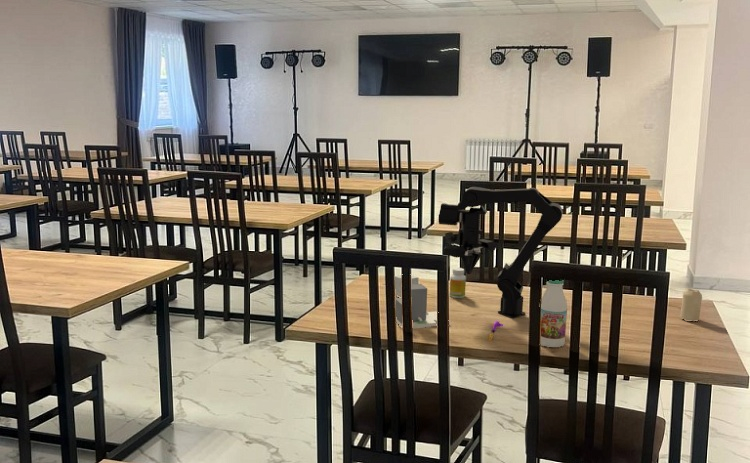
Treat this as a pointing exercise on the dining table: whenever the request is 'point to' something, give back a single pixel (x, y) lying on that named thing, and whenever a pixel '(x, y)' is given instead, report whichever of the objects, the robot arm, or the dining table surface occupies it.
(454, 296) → the supplement bottle
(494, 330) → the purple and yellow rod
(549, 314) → the milk bottle
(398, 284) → the product box
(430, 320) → the plate
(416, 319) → the gray block
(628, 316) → the dining table surface
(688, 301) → the candle
